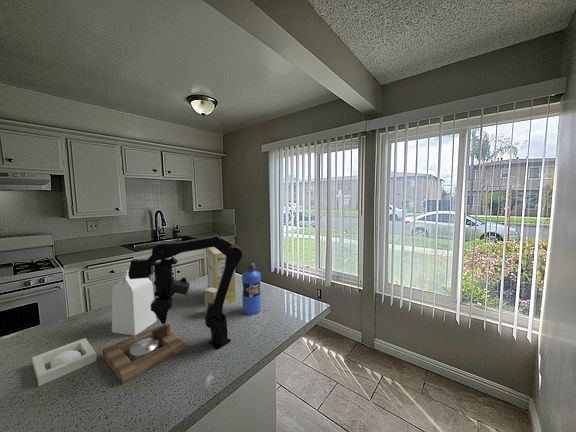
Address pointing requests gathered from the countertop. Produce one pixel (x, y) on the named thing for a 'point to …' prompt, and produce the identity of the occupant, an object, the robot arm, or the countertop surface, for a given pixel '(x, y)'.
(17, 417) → the countertop surface
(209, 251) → the pasta box
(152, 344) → the dial
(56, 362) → the garlic
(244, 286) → the water bottle
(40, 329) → the countertop surface
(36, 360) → the frame
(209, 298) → the skincare box
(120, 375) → the surround
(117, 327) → the milk
